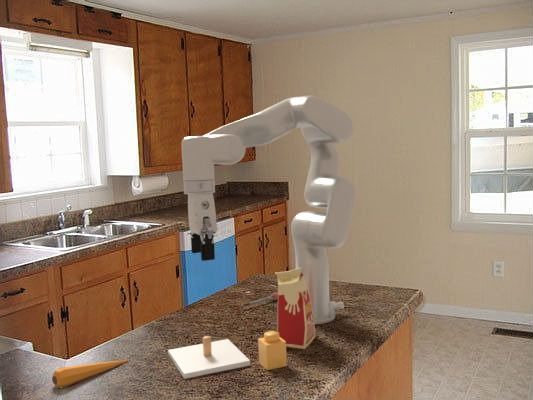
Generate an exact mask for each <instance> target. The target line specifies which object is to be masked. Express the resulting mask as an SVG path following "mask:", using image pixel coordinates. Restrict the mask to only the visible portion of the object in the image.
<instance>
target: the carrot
mask: <svg viewBox="0 0 533 400" xmlns="http://www.w3.org/2000/svg"><path fill="white" fill-rule="evenodd" d="M129 361H130V359H126V360H125V359H123V360H112V361H111V360H110V361H103V362H95V363H94V362H93V363H88V364H79V365H72V366H63V367H59V368H58V369H55V370H54V371H53V373H52V378H51V379H52V384H53V385H54V387H55V386H57V387H64V388H67V387H69V386H72V385H74V384H76V383H79V382H81V381H84V380H87V379H89V378H92V377H94V376H97V375H99V374H101V373H104V372H107V371H109V370H112V369H113V368H116V367H118V366H120V365H122V364H125V363H127V362H129ZM57 387H56V388H57Z"/></svg>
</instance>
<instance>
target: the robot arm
mask: <svg viewBox="0 0 533 400" xmlns="http://www.w3.org/2000/svg"><path fill="white" fill-rule="evenodd" d="M297 129H300V132H301V135H302V136H303V139H304V141H305V142H306V143H307V146H308V149H309V151H310V155H311V158H310V159H311V160H310V163H309V164H310V165H309V170H308V175H307V176H306V177H307V178H306V182H305V186H304V193H303V198H304V201H305V203H306V204H307V205H308V206H310V207H312V208H316V209H323V210H324V209H326V212H321V211H311V210H309V211H307V210H305V211H301V212H299V213H297V214H296V215H295V216H294V217H293V219H292V221H291V223H290V234H291V238H292V243H293V248H294V258H295V269H297V268H301V267H302V270H301V272H302V274H303V275H304V278H305V281H306V285H307V289H308V292H309V296H310V301H311V306H312V312H313V317H314V326H315V325H323V324H327V323H331V322H332V321H334V320H335V319H336V314H335V310H340V309H344V308H345V303H344V301H339V302H336V301H335V300H333V301H330V279H329V256H328V252H327V250H326V248H327V249H337V248H338V249H339V248H340V247H342V246H343V245H344V244H345V242H346V240H347V239H348V236H349V232H350V228H351V224H352V219H353V215H354V210H355V206H356V202H357V192H356V191H357V190H356V187H355V184H354V182H353V181H352V180H351V179H350V178H348V177H345V176H342V175H340V176H339V172H340V171H339V170H340V166H341V165H340V164H341V157H340V154H339V151H338V149H337V147H336V144H335V143H337V144H339V143H345V142H347V141H348V140H350V138H352V136H353V134H354V130H355V125H354V121H353V119H352V117H351V116H350V114H349V113H348V112H346V111H345V110H343V109H340V108H339V106H336V105H334V104H333V103H331V102H330V101H327V100H325V99H324V98H322V97H320V96H316V95H312V94H311V95H300V96H293V97H289V98H286V99H283V100H282V101H281V100H280V102H277V103H276V104H273V105H271V106H269V107H267V108H265V109H263V110H261V111H259V112H257V113H254V114H251V115H249V116H247V117H244V118H241V119H239V120H236V121H233V122H231V123H228V124H225V125H223V126H220V127H218V128H216V129H214V130H212V131H210V132H208V133H206V134H204V135H195V136H193V135H191V136H185V137H183V138H182V140H181V160H182V161H181V163H182V177H183V179H182V180H183V195H187V211H188V213H187V214H188V216H187V217H188V225H189V227H188V228H189V230H190V244H191V245H190V247H191V253H192V254H199V253H200V257H201V261H203V262H205V261H206V262H207V261H214V260H215V258H216V256H215V255H216V254H215V252H216V251H215V239H214V237H215V235H214V234H217V232H218V225H217V213H216V206H215V205H216V204H215V198H214V193H216V184H215V183H216V182H215V165H223V166H225V165H227V166H229V165H235V164H237V163H239V162H240V161H241V160H242V159H243V158H244V157H245V154H246V150H247V149H246V148H254V147H260V146H261V147H262V146H264V145H267V144H271V143H273V142H274V141H277V139H280V138H282V137H283V136H286V135H287V134H289V133H291V132H293V131H295V130H297Z"/></svg>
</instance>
